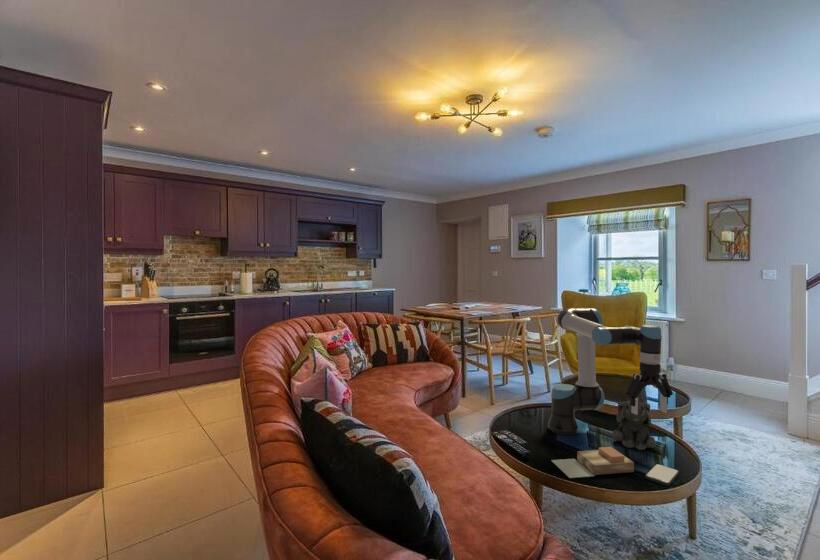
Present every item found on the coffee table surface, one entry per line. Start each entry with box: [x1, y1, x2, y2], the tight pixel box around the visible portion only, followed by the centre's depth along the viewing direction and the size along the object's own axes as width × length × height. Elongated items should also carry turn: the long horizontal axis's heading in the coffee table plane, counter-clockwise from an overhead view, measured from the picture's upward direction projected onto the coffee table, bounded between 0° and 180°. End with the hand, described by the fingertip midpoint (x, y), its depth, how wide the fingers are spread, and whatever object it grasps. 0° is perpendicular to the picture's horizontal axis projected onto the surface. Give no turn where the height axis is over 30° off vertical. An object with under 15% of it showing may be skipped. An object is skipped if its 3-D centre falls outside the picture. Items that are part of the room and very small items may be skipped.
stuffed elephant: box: [611, 395, 656, 451], centre depth 195 cm, size 19×21×27 cm
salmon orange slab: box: [597, 446, 625, 462], centre depth 174 cm, size 9×6×2 cm, turn 8°
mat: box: [551, 458, 595, 479], centre depth 171 cm, size 15×11×1 cm
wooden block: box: [576, 449, 635, 476], centre depth 173 cm, size 13×18×4 cm
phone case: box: [644, 463, 680, 487], centre depth 165 cm, size 9×2×16 cm
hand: (648, 412), depth 168 cm, fingers open, 13 cm apart
